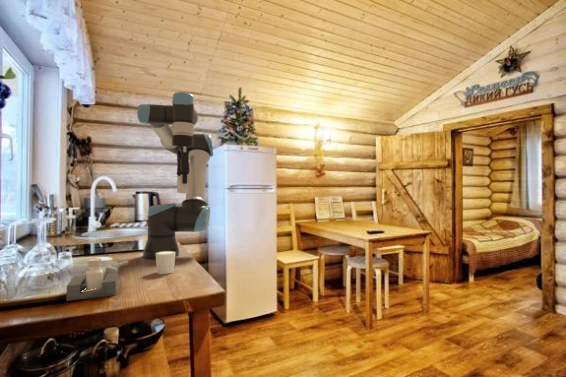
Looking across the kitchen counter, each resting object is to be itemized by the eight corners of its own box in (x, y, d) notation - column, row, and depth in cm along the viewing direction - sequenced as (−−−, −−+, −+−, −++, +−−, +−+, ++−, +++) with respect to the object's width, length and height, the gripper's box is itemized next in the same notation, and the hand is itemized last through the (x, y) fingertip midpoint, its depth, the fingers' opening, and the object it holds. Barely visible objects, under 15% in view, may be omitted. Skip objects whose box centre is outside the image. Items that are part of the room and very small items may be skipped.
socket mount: (74, 290, 90) (74, 276, 90) (118, 285, 95) (118, 272, 95) (66, 300, 81) (66, 285, 81) (115, 295, 86) (115, 281, 86)
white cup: (168, 275, 107) (168, 255, 107) (151, 273, 108) (151, 254, 108) (179, 270, 114) (179, 251, 114) (162, 269, 115) (162, 250, 115)
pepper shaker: (85, 292, 89) (86, 259, 89) (101, 289, 91) (102, 257, 91) (86, 296, 85) (87, 261, 85) (103, 293, 88) (103, 260, 88)
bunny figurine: (78, 270, 98) (105, 254, 113) (79, 285, 98) (106, 268, 113) (108, 270, 98) (131, 255, 112) (109, 285, 98) (132, 268, 113)
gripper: (170, 139, 123) (169, 192, 123) (174, 128, 100) (174, 193, 100) (189, 141, 126) (189, 192, 126) (198, 130, 103) (197, 193, 103)
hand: (182, 193), depth 113 cm, fingers open, 13 cm apart
